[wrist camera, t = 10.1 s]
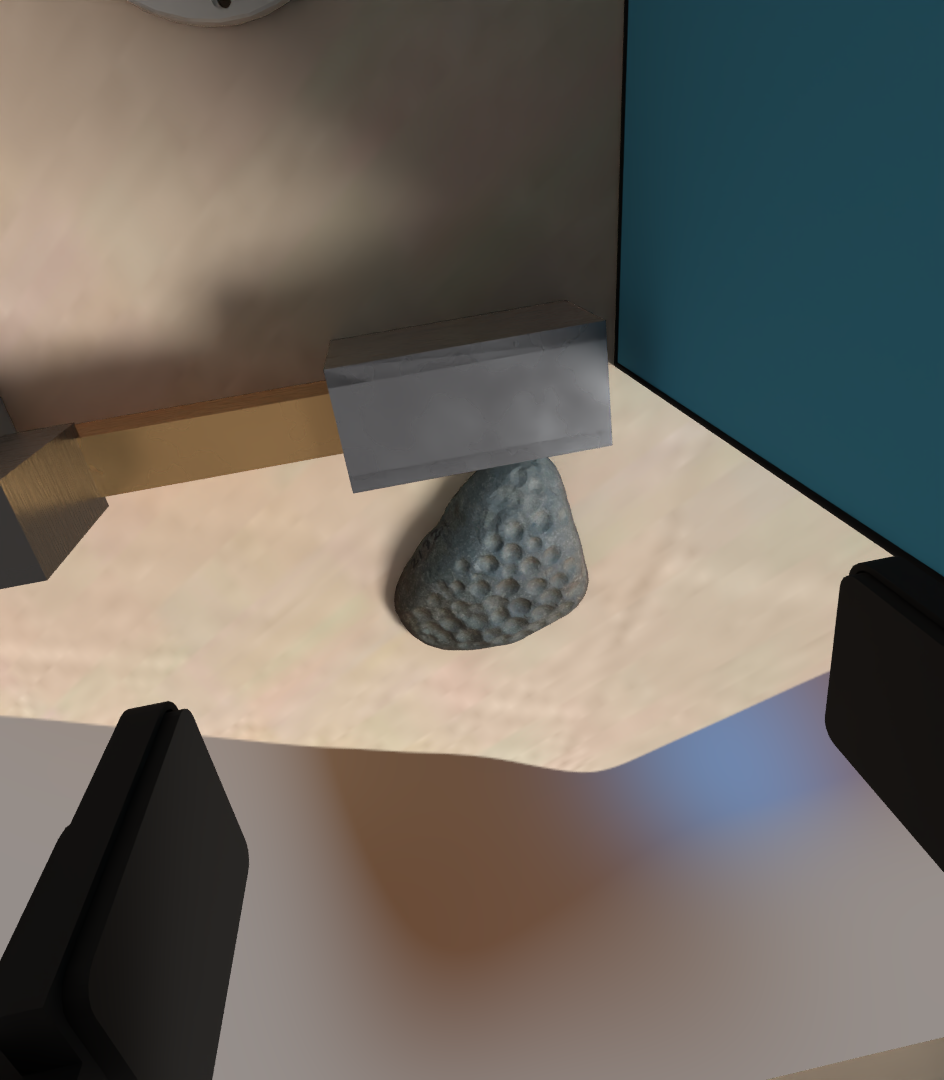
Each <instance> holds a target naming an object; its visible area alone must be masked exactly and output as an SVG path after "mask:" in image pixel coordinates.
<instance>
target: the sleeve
mask: <svg viewBox="0 0 944 1080" xmlns="http://www.w3.org/2000/svg"><path fill="white" fill-rule="evenodd" d="M323 370H324V374H325V379H326V383H327V387H328V391H329V395H330V399H331V403H332V408H333V412H334V416H335V420H336V424H337V428H338V433H339V437H340V441H341V445H342V449H343V453H344V457H345V462H346V466H347V470H348V474H349V478H350V482H351V487H352V491H353V493H358V492H363V491H369V490H374V489H380V488H385V487H390V486H396V485H401V484H406V483H412V482H417V481H423V480H428V479H433V478H439V477H444V476H450V475H455V474H460V473H466V472H471V471H476V470H482V469H487V468H493V467H498V466H503V465H509V464H514V463H520V462H525V461H530V460H536V459H541V458H547V457H552V456H557V455H563V454H568V453H573V452H579V451H584V450H590V449H595V448H600V447H606V446H611V445H612V429H611V410H610V392H609V373H608V355H607V336H606V320H604V319H602V318H600V317H598V316H596V315H594V314H592V313H590V312H588V311H586V310H585V309H583V308H581V307H579V306H577V305H575V304H573V303H571V302H569V301H567V300H564V301H558V302H552V303H547V304H541V305H535V306H529V307H523V308H518V309H512V310H506V311H500V312H494V313H489V314H483V315H477V316H471V317H465V318H460V319H454V320H448V321H442V322H436V323H431V324H425V325H419V326H413V327H408V328H402V329H396V330H390V331H384V332H379V333H373V334H367V335H361V336H355V337H350V338H344V339H338V340H332V341H330V344H329V349H328V353H327V357H326V361H325V365H324V369H323Z"/></svg>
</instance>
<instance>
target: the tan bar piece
mask: <svg viewBox="0 0 944 1080" xmlns="http://www.w3.org/2000/svg"><path fill="white" fill-rule="evenodd" d="M342 453H343V449H342V445H341V441H340V437H339V433H338V428H337V424H336V420H335V416H334V412H333V408H332V403H331V399H330V395H329V391H328V387H327V383H326V380H324V381H318V382H313V383H307V384H301V385H295V386H290V387H284V388H278V389H273V390H267V391H261V392H256V393H250V394H244V395H239V396H233V397H227V398H222V399H216V400H210V401H204V402H199V403H193V404H187V405H182V406H176V407H170V408H165V409H159V410H153V411H148V412H142V413H136V414H131V415H125V416H119V417H113V418H108V419H102V420H96V421H91V422H85V423H79V424H74V423H69V424H64V425H58V426H52V427H47V428H41V429H35V430H30V431H24V432H18V433H13V434H7V435H3V436H1V437H0V589H3V588H9V587H14V586H19V585H25V584H30V583H35V582H41V581H46V580H48V579H49V577H50V576H51V575H52V574H53V573H54V571H55V570H56V569H57V568H58V567H59V565H60V564H61V563H62V562H63V561H64V559H65V558H66V557H67V556H68V555H69V553H70V552H71V551H72V550H73V549H74V547H75V546H76V545H77V544H78V542H79V541H80V540H81V539H82V538H83V536H84V535H85V534H86V533H87V532H88V530H89V529H90V528H91V527H92V526H93V524H94V523H95V522H96V521H97V520H98V518H99V517H100V516H101V515H102V514H103V512H104V511H105V510H106V509H107V507H108V506H109V505H108V503H107V500H106V498H105V497H106V496H111V495H117V494H122V493H128V492H133V491H139V490H144V489H150V488H155V487H161V486H166V485H172V484H177V483H183V482H188V481H194V480H199V479H205V478H210V477H216V476H221V475H227V474H232V473H238V472H243V471H248V470H254V469H259V468H265V467H270V466H276V465H281V464H287V463H292V462H298V461H303V460H309V459H314V458H320V457H325V456H331V455H336V454H342Z"/></svg>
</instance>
